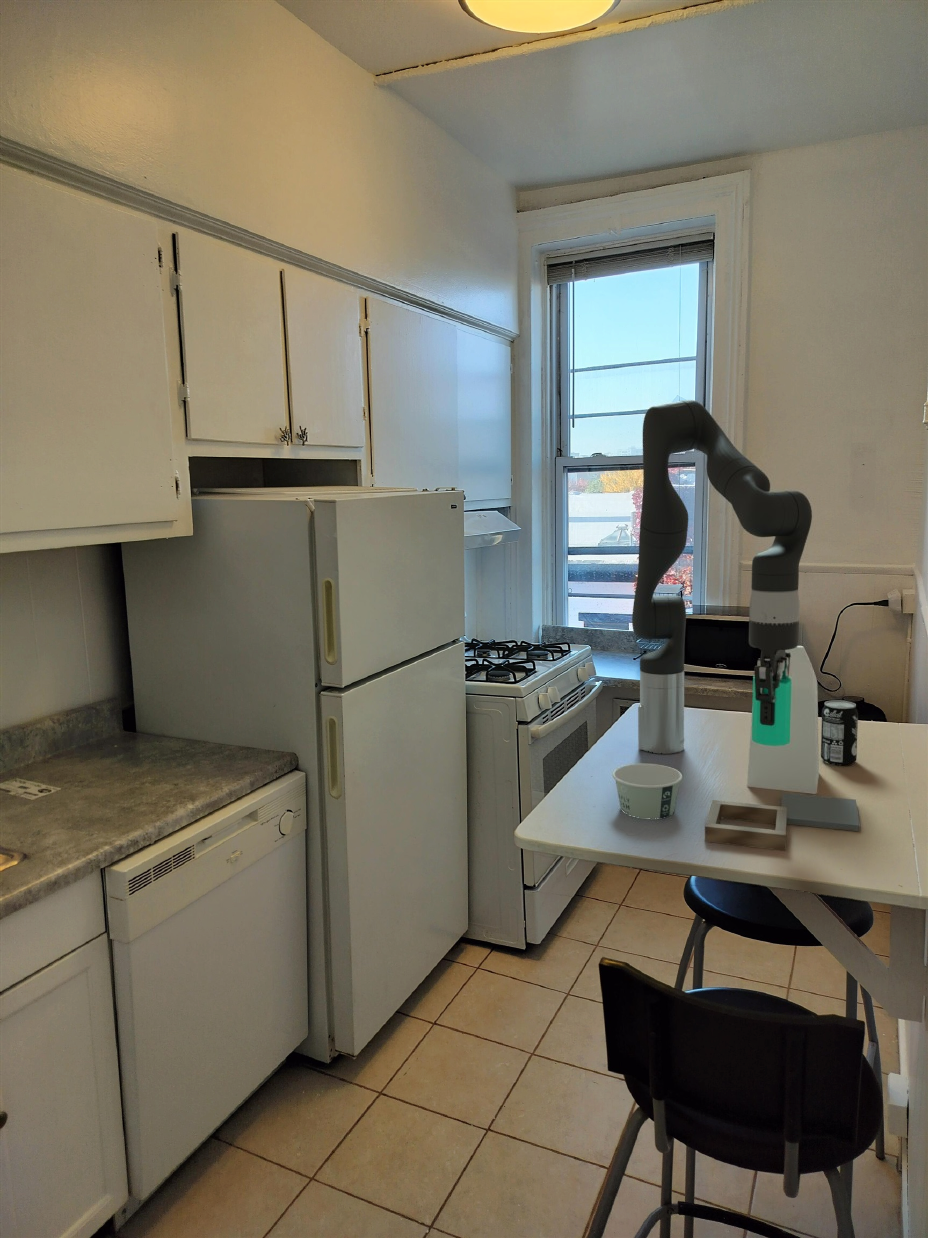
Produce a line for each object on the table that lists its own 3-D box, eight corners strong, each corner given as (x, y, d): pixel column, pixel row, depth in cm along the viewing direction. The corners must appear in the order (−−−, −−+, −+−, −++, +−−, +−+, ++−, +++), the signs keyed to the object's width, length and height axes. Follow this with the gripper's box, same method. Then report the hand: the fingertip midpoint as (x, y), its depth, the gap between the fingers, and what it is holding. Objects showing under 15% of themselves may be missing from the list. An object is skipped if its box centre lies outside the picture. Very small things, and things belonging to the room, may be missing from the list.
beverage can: (849, 756, 172) (851, 699, 171) (861, 767, 166) (863, 707, 164) (816, 756, 173) (817, 699, 171) (826, 767, 167) (828, 708, 165)
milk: (819, 773, 163) (822, 641, 159) (816, 794, 153) (819, 653, 149) (753, 767, 168) (755, 639, 164) (747, 786, 158) (748, 650, 154)
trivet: (780, 823, 140) (780, 817, 140) (782, 798, 151) (782, 792, 151) (859, 831, 136) (859, 825, 136) (855, 805, 147) (855, 799, 147)
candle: (756, 745, 135) (757, 673, 133) (748, 734, 141) (749, 664, 139) (794, 746, 135) (796, 672, 133) (785, 734, 140) (787, 664, 139)
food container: (599, 804, 152) (599, 770, 151) (654, 793, 156) (654, 759, 155) (638, 828, 141) (638, 790, 140) (696, 814, 146) (696, 778, 145)
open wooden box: (704, 841, 134) (704, 826, 134) (712, 813, 145) (712, 800, 145) (785, 850, 130) (785, 835, 130) (786, 821, 141) (787, 807, 141)
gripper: (788, 626, 127) (785, 735, 129) (808, 612, 138) (805, 712, 141) (737, 623, 131) (736, 729, 134) (761, 609, 143) (759, 707, 145)
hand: (771, 719), depth 137 cm, fingers closed on candle, 5 cm apart
